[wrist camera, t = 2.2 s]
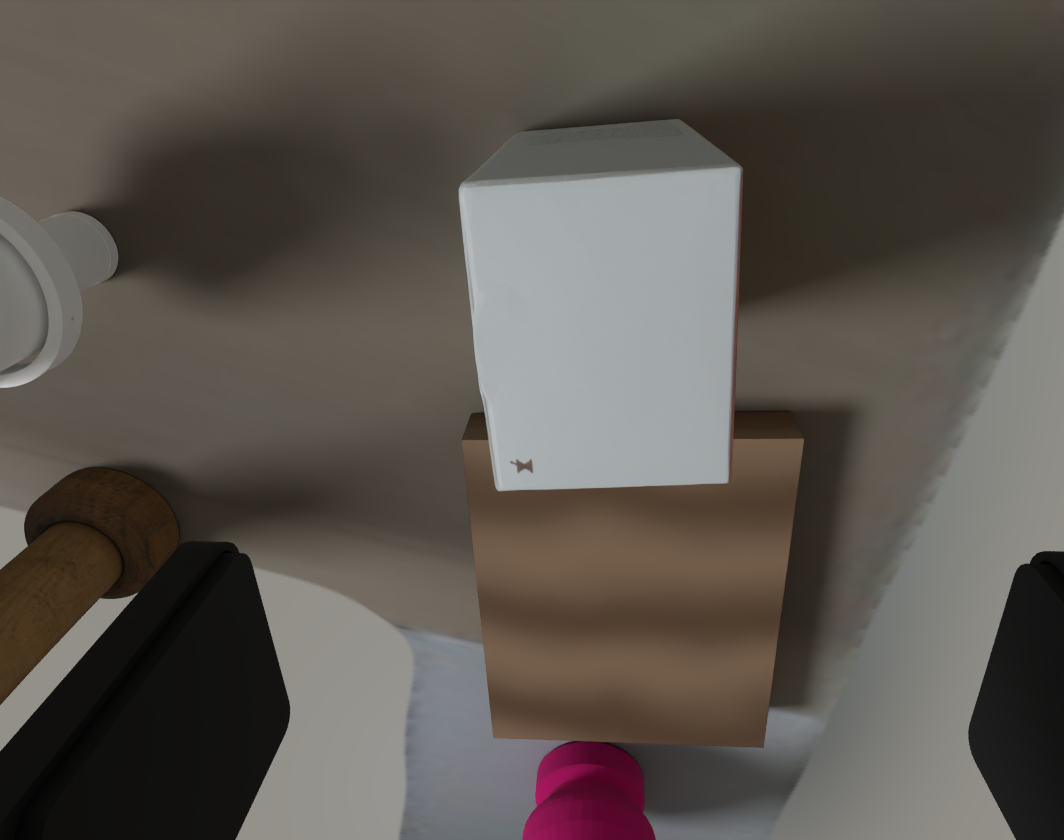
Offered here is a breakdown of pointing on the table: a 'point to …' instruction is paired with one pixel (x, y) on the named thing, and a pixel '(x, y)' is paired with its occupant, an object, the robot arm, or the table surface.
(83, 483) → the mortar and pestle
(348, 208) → the table surface
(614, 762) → the pepper mill
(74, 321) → the white slotted cylindrical holder
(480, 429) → the walnut board
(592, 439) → the small box
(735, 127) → the table surface
